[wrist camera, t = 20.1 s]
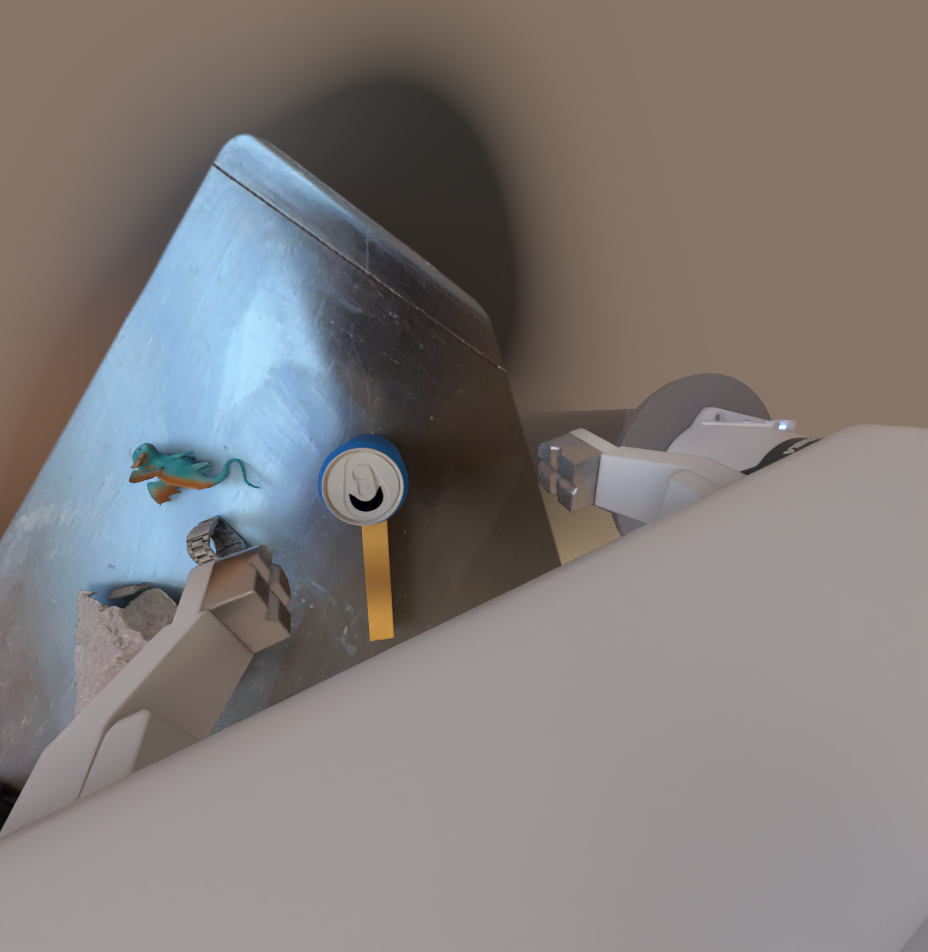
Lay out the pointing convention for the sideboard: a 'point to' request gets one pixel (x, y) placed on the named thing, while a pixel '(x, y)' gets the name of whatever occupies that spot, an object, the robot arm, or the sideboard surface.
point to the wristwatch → (221, 536)
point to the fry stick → (378, 580)
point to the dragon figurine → (173, 472)
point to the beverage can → (364, 480)
